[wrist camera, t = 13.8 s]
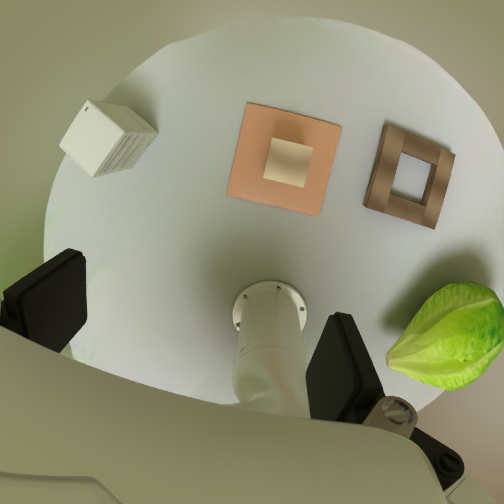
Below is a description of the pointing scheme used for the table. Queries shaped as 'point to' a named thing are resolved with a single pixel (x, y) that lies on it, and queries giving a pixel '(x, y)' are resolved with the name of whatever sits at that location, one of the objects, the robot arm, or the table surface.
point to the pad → (256, 150)
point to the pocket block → (386, 168)
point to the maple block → (287, 162)
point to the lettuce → (451, 337)
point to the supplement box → (107, 138)
